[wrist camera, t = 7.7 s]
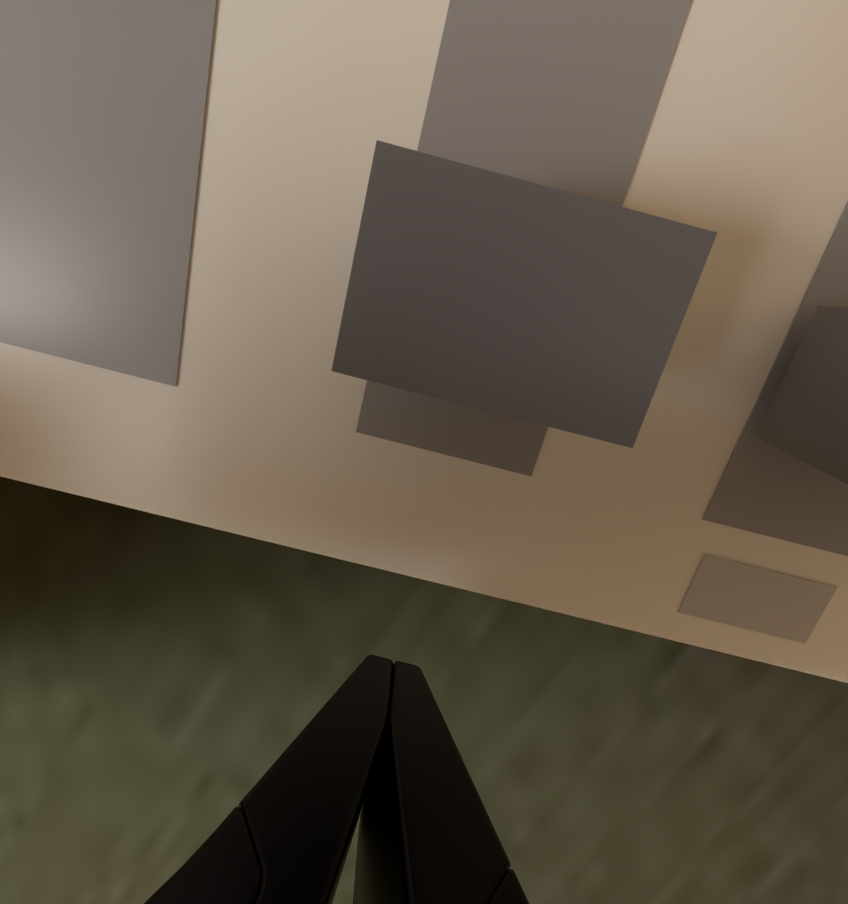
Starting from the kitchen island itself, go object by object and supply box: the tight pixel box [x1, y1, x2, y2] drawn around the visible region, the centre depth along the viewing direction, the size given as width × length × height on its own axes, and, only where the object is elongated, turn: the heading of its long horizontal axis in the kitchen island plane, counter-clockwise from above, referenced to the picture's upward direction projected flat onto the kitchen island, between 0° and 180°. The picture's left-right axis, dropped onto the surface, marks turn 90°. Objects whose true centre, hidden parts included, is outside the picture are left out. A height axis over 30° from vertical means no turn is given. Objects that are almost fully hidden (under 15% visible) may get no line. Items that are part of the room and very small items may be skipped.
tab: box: [331, 140, 717, 448], centre depth 6 cm, size 3×2×3 cm, turn 76°
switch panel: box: [0, 0, 848, 683], centre depth 8 cm, size 18×14×2 cm
